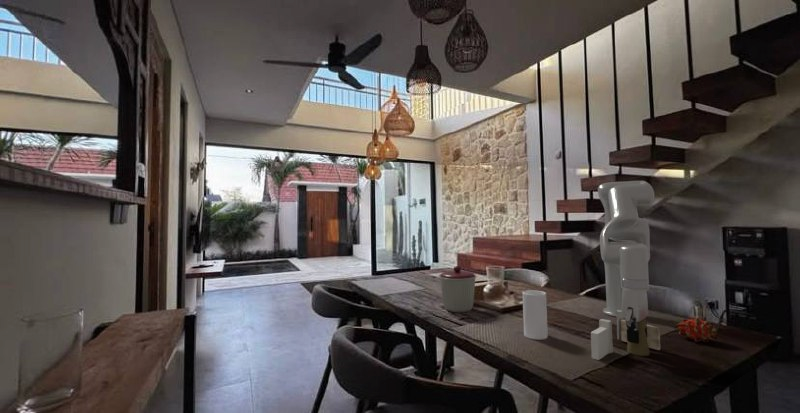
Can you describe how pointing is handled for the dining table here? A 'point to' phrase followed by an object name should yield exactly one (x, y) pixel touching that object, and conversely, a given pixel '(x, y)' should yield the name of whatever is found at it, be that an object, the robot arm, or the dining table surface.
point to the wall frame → (603, 337)
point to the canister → (458, 289)
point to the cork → (642, 347)
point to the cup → (535, 314)
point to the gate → (652, 334)
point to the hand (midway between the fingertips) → (637, 339)
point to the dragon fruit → (697, 329)
